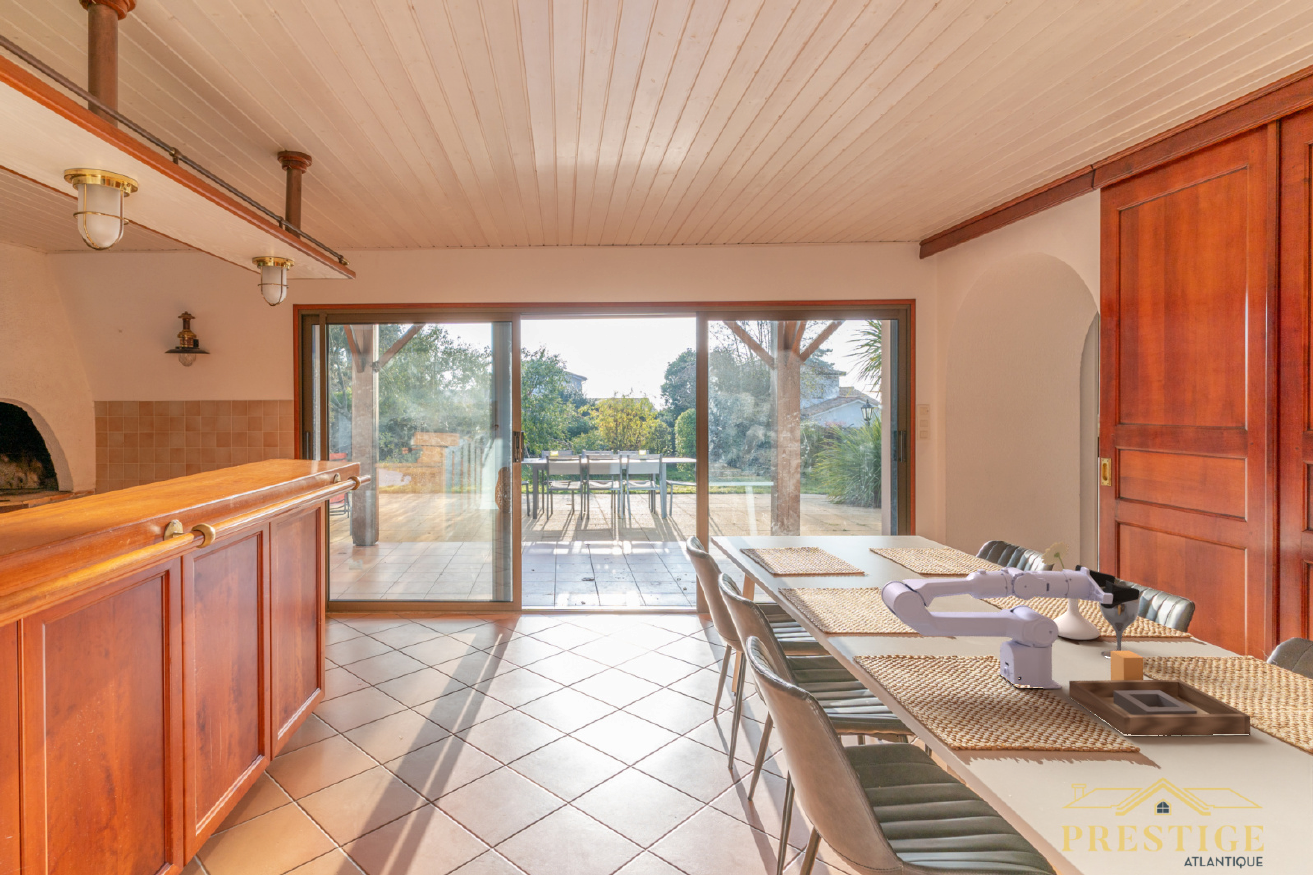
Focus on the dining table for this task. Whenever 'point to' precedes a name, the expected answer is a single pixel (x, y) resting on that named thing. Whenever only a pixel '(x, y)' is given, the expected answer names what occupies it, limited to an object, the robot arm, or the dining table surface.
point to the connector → (1126, 666)
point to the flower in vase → (1069, 603)
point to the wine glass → (1120, 619)
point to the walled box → (1206, 722)
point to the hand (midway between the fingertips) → (1125, 587)
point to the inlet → (1150, 703)
